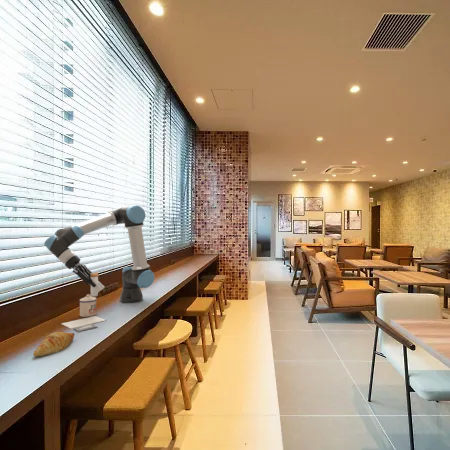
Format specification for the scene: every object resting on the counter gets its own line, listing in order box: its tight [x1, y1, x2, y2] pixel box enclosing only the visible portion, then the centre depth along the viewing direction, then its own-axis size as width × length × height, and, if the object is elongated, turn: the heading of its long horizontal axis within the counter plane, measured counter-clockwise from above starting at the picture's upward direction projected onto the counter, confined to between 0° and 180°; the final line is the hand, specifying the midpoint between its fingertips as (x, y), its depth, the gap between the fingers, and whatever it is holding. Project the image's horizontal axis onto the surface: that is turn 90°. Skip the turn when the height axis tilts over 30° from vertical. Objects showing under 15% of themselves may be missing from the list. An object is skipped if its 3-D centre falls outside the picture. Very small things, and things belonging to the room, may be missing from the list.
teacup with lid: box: [78, 293, 98, 318], centre depth 180 cm, size 12×9×12 cm
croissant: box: [32, 331, 75, 357], centre depth 129 cm, size 21×10×8 cm, turn 168°
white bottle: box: [90, 272, 99, 297], centre depth 169 cm, size 4×4×12 cm
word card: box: [73, 324, 98, 333], centre depth 154 cm, size 9×6×1 cm, turn 138°
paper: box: [61, 315, 107, 330], centre depth 165 cm, size 18×12×1 cm, turn 138°
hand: (101, 289), depth 170 cm, fingers closed on white bottle, 3 cm apart
